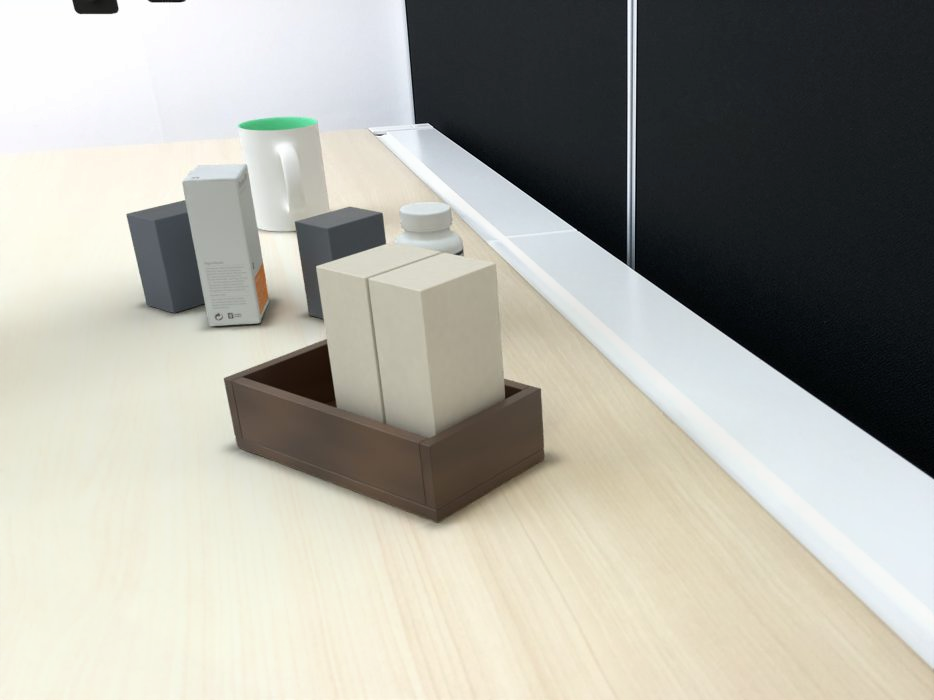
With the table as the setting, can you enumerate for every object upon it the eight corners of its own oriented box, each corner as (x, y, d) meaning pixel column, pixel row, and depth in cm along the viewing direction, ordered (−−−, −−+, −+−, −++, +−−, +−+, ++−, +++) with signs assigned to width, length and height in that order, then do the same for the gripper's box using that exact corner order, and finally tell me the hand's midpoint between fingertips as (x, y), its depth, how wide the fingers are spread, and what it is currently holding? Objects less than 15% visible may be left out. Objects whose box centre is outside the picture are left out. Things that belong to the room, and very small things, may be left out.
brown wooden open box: (236, 447, 71) (222, 377, 68) (350, 397, 78) (340, 332, 75) (437, 523, 62) (429, 446, 59) (545, 459, 69) (541, 388, 66)
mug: (346, 234, 116) (333, 132, 111) (268, 244, 113) (250, 139, 108) (322, 209, 125) (309, 114, 120) (249, 217, 122) (232, 120, 117)
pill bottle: (390, 332, 89) (376, 212, 85) (425, 312, 94) (413, 197, 89) (448, 340, 87) (437, 218, 83) (481, 319, 92) (472, 202, 87)
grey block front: (308, 315, 93) (294, 221, 89) (361, 296, 97) (349, 206, 94) (341, 324, 91) (327, 228, 87) (393, 304, 95) (383, 212, 92)
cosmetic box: (262, 324, 91) (236, 178, 86) (208, 327, 90) (179, 180, 85) (271, 301, 96) (248, 162, 91) (221, 304, 96) (194, 164, 90)
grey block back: (146, 305, 96) (125, 213, 92) (205, 287, 100) (187, 199, 96) (174, 313, 94) (154, 220, 90) (233, 294, 98) (216, 205, 94)
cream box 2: (392, 474, 65) (367, 278, 60) (461, 437, 70) (444, 252, 64) (441, 491, 63) (420, 290, 58) (509, 453, 68) (496, 262, 62)
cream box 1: (343, 456, 67) (315, 265, 62) (413, 422, 72) (392, 241, 66) (390, 473, 65) (365, 277, 60) (458, 437, 70) (441, 251, 64)
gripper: (100, -244, 85) (149, -2, 93) (-58, -274, 70) (17, 18, 78) (191, -247, 84) (232, -2, 92) (51, -278, 69) (116, 19, 77)
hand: (134, 7), depth 85 cm, fingers open, 9 cm apart
